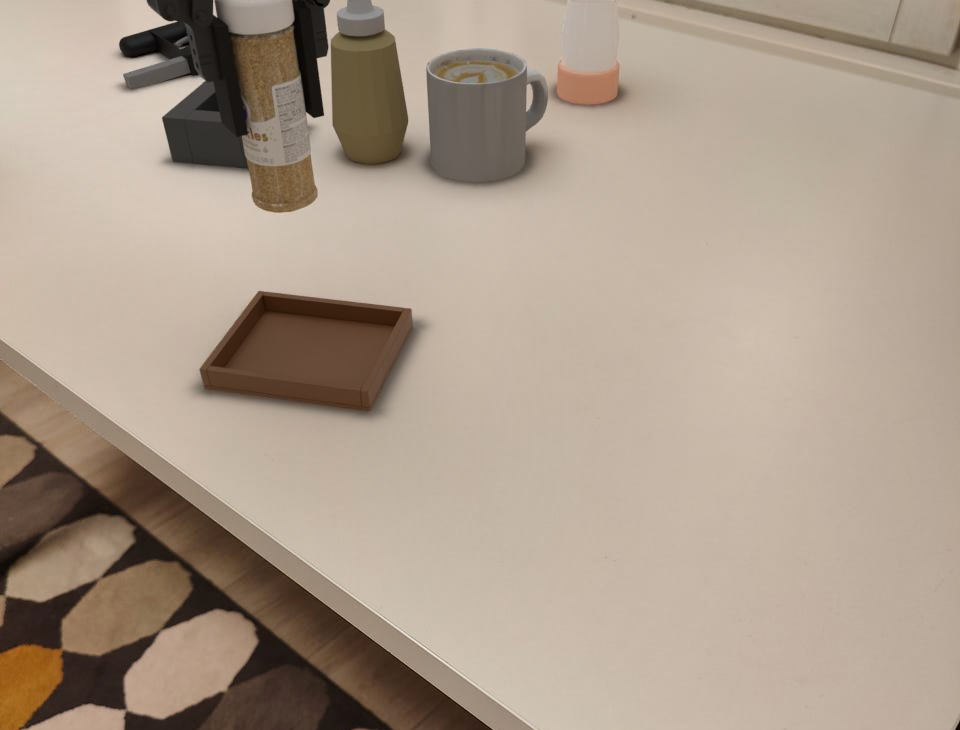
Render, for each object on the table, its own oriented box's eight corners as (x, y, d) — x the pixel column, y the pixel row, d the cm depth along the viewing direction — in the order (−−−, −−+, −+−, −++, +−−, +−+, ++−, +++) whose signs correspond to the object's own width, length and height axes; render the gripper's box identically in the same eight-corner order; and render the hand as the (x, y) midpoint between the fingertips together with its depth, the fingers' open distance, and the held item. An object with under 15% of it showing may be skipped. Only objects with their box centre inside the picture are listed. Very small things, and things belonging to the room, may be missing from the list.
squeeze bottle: (419, 164, 100) (407, -23, 88) (343, 175, 98) (321, -14, 86) (401, 134, 106) (388, -45, 93) (330, 144, 104) (307, -37, 92)
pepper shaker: (628, 100, 112) (644, -85, 99) (571, 109, 110) (580, -77, 97) (601, 79, 117) (613, -99, 104) (547, 88, 115) (552, -93, 102)
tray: (204, 390, 72) (198, 369, 70) (262, 311, 80) (258, 290, 78) (370, 413, 69) (367, 391, 68) (413, 329, 77) (411, 308, 76)
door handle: (144, 85, 111) (265, 46, 117) (85, 41, 123) (198, 8, 129) (152, 112, 114) (271, 73, 120) (94, 66, 126) (204, 33, 132)
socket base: (172, 163, 101) (161, 117, 98) (216, 123, 109) (207, 79, 105) (267, 172, 99) (259, 125, 96) (305, 130, 107) (298, 85, 103)
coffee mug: (450, 191, 95) (446, 90, 88) (418, 152, 102) (412, 56, 95) (570, 167, 99) (575, 69, 92) (531, 132, 105) (534, 38, 99)
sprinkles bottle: (239, 202, 65) (196, -10, 56) (289, 179, 68) (255, -27, 58) (284, 222, 63) (246, 5, 54) (333, 197, 65) (306, -14, 56)
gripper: (21, -353, 40) (158, 173, 56) (391, -366, 47) (419, 108, 62) (-14, -356, 45) (122, 130, 60) (326, -367, 51) (368, 73, 67)
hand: (273, 118), depth 61 cm, fingers closed on sprinkles bottle, 5 cm apart
